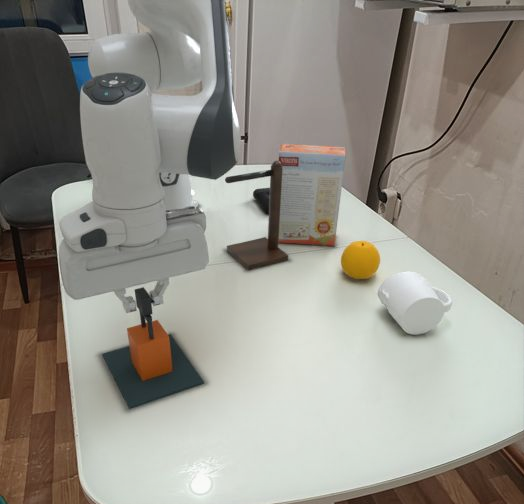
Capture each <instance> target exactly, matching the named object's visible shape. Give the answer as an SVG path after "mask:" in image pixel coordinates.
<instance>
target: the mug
mask: <svg viewBox="0 0 524 504" xmlns="http://www.w3.org/2000/svg"><path fill="white" fill-rule="evenodd" d="M377 296H378V299H379V301H380V303H381V304H382V305H384V307H386V308H387V312H388V313H389V315H390V316H391V317H392V318H393V320H394V321H396V323H397V324H398V325H399V327H400V328H401V329H402V330H403V331H404V332H405V333H407V334H409V335H415V336H416V335H418V336H419V335H423V334H426V333H428V332H430V331H432V330H433V329H434V328H436V327H437V326H438V325H439V324H440V322H441V321H442V319H443V318H444V314H445V313H448V312H449V311H450V310H451V308H452V305H453V300H452V297H451V296H450V295H449V294H448V293H447V292H445V291H444V290H442V289H440V288H438V287H435V286H432V285H431V284H430V282H429V280H428V278H427V277H425V276H422V274H420V273H418V272H415V271H401V272H397V273H393V274H392V275H390V276H388V277H387V278H386V279H384V280H383V281H382V282H381V284H380V285H379V287H378V290H377Z"/></svg>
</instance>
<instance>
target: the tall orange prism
mask: <svg viewBox="0 0 524 504" xmlns="http://www.w3.org/2000/svg"><path fill="white" fill-rule="evenodd" d="M134 296H135V297H134V298H135V302H136V308H137V309H138V312H139V318H140V324H137V325H134V326H133V325H132V326H130V327H127V328H126V333H127V340H128V345H129V346H130V352H131V358H132V363H133V365H134V367H135V369H136V370H137V372H138V374H139V376H140V377H141V379H142V381H145V380H148V379H151V378H154V377H157V376H160V375H163V374H166V373H169V372H172V371H173V370H172V360H171V350H170V340H169V336H168V335H169V334H168V333H167V332H166V330H165V328H164V327H163V326H162V324H161V323H160V322H159V320H158V319H155V320H153V317H152V315H154V313H153V304H152V303H151V297H150V295H149V292H148V291H147V290H146V288H145V287H144V286H143V287H138V288H135V289H134Z"/></svg>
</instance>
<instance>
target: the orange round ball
mask: <svg viewBox="0 0 524 504" xmlns="http://www.w3.org/2000/svg"><path fill="white" fill-rule="evenodd" d="M380 264H381V256H380V252H379V250H378V248H377V247H376V246H375V245H374V244H373V243H371V242H370V241H366V240H356V241H353V242H351V243H349V244H348V245H347V246H346V247H345V248H344V250H343V252H342V254H341V257H340V265H341V268H342V270H343V272H344V274H345V275H347V276H348V277H349V278H352V279H355V280H367V279H369V278H371V277H373V276H374V275H375V274H376V273H377V272H378V270H379V267H380Z"/></svg>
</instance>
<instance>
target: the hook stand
mask: <svg viewBox="0 0 524 504" xmlns="http://www.w3.org/2000/svg"><path fill="white" fill-rule="evenodd" d="M282 171H283V166H282V164H281V162H279V160H274V161H273V162H272V164H271V165H270V169H267V170H262V171H261V170H260V171H255V172H248V173H242V174H237V175H230V176H226V177H225V179H224V181H225V183H226V184H231V183H238V182H245V181H251V180H255V179H256V180H257V179H262V178H268V177H270V178H269V188H270V198H269V214H268V222H267V223H268V225H267V237H266V236H263V237H260V238H255V239H250V240H246V241H243V242H237V243H233V244H229V245H226V251H227V252H228V253H229V254H230V255H231V256H232V257H233V258H234V259H235V260H236V261H237V262H238V263H240V265H241V266H242V267H244V268H245V269H246V270H247V271H251V270H256V269H259V268H264V267H267V266H271V265H276V264H279V263H283V262H287V261H289V254H287V253H286V252H284V251H283V250H282V249H281V248H279V242H278V241H279V223H280V206H281V188H282Z"/></svg>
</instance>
